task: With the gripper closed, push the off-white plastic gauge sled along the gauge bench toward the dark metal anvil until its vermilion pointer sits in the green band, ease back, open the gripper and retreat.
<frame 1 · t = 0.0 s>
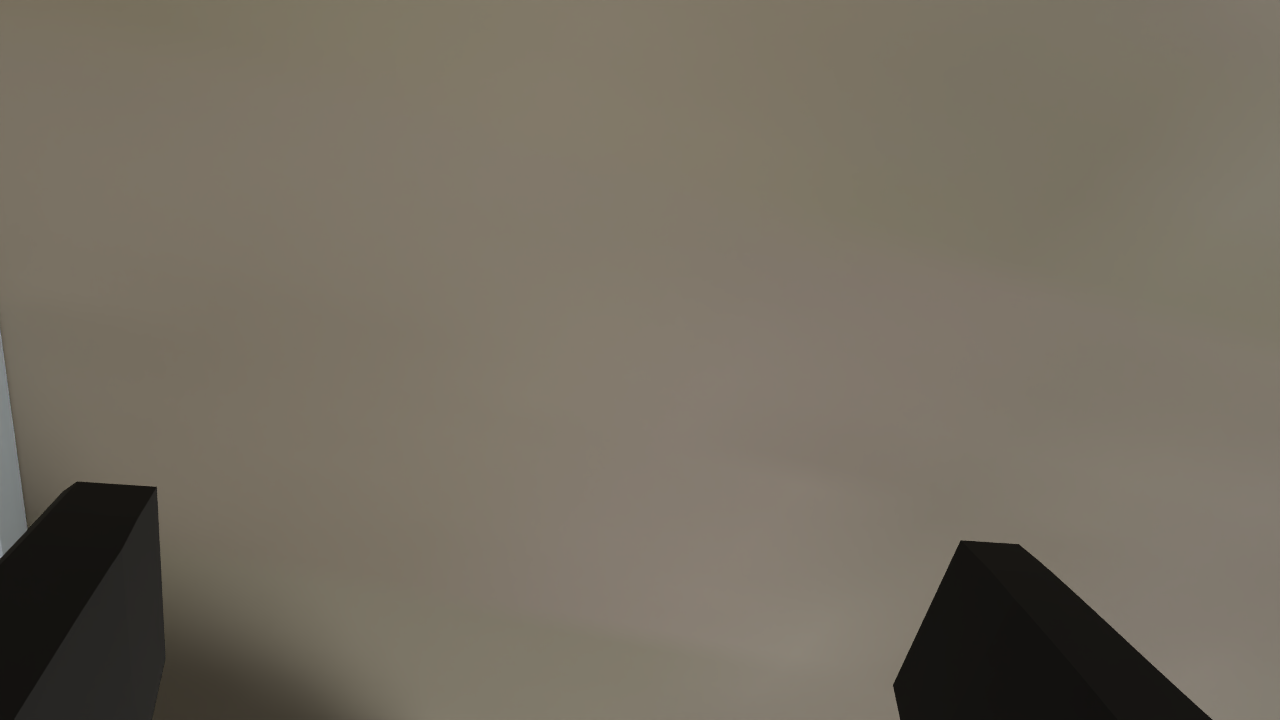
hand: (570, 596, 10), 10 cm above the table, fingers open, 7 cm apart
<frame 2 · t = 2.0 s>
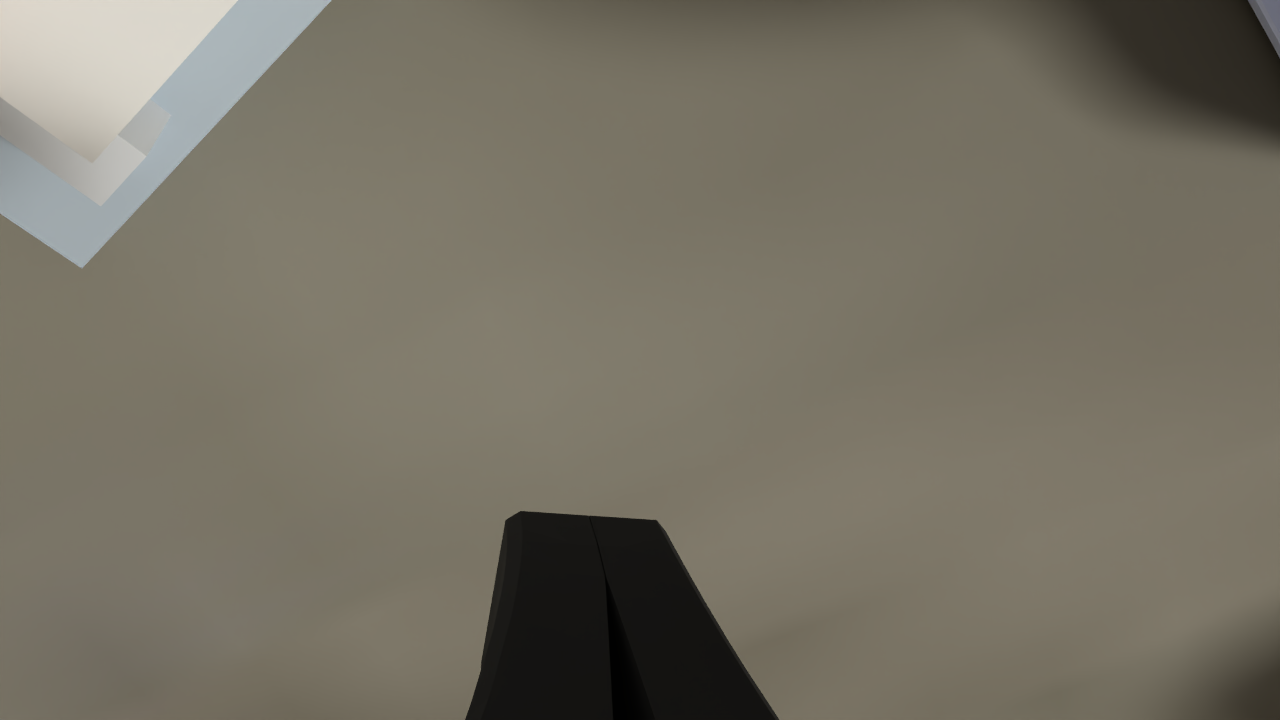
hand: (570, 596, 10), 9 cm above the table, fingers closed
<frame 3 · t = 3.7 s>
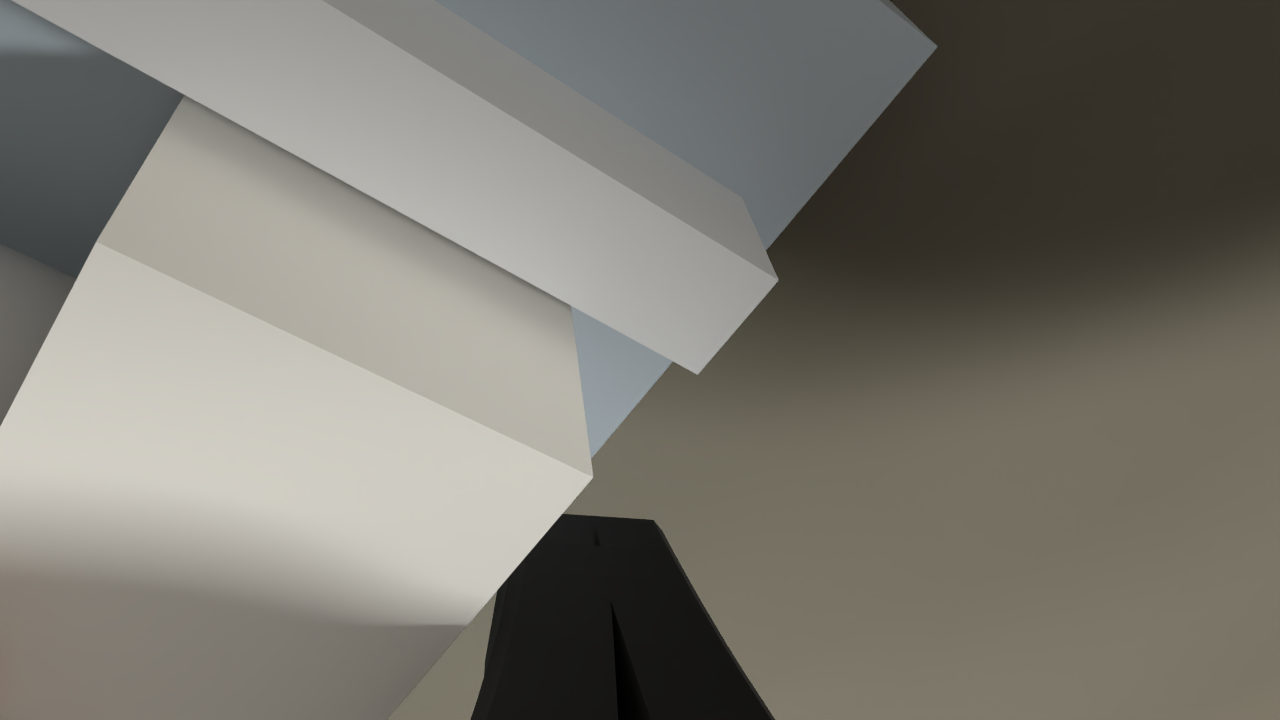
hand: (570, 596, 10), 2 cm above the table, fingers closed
gauge sled: (67, 481, 8), point 3 cm above the table, slide at 0.4 cm, touching gripper
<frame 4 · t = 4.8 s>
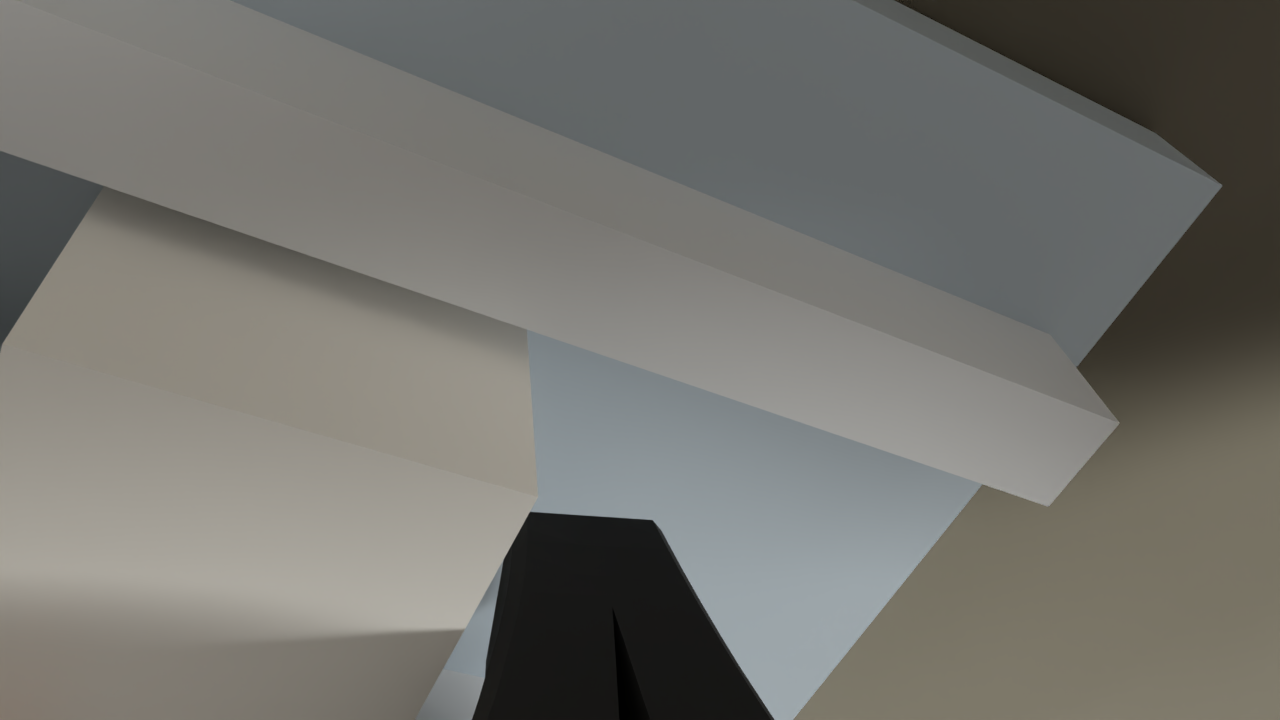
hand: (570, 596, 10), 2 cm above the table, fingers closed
gauge bench: (279, 348, 11), on the table
gauge sled: (56, 563, 8), point 3 cm above the table, slide at 4.4 cm, touching gripper
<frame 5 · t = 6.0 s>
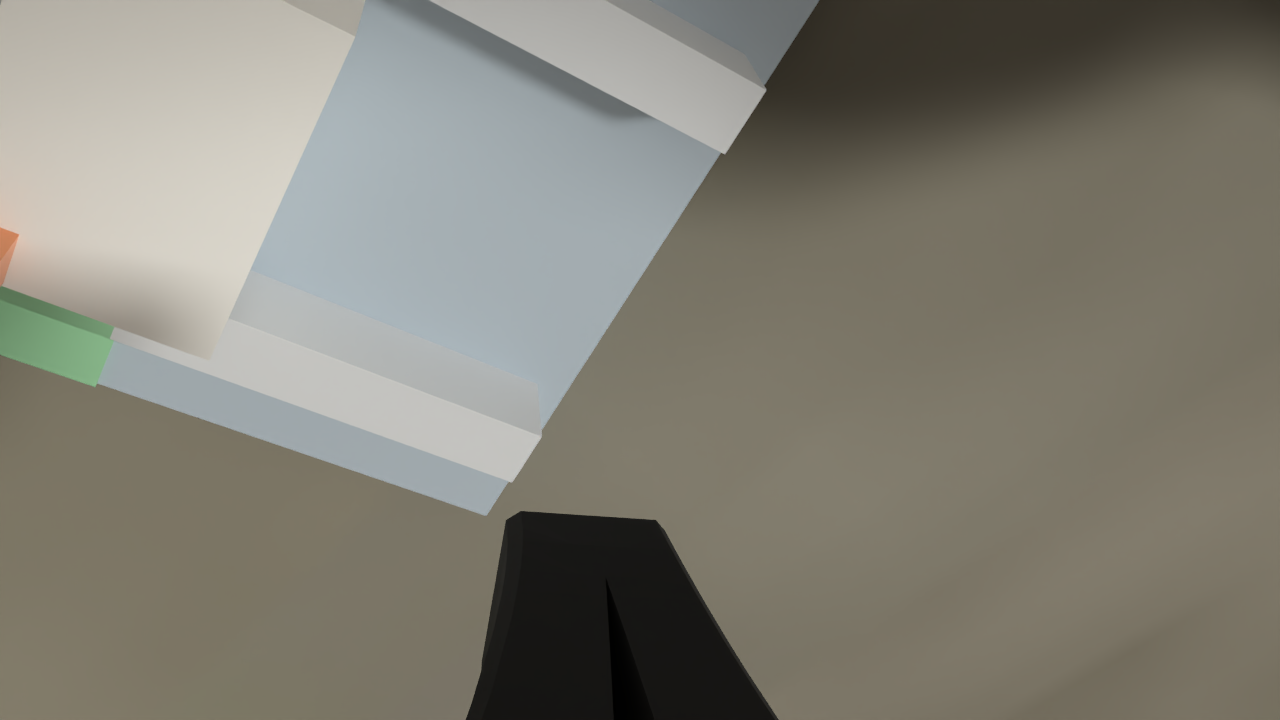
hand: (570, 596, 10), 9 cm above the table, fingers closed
gauge bench: (206, 33, 16), on the table
gauge sled: (48, 83, 12), point 3 cm above the table, slide at 4.4 cm
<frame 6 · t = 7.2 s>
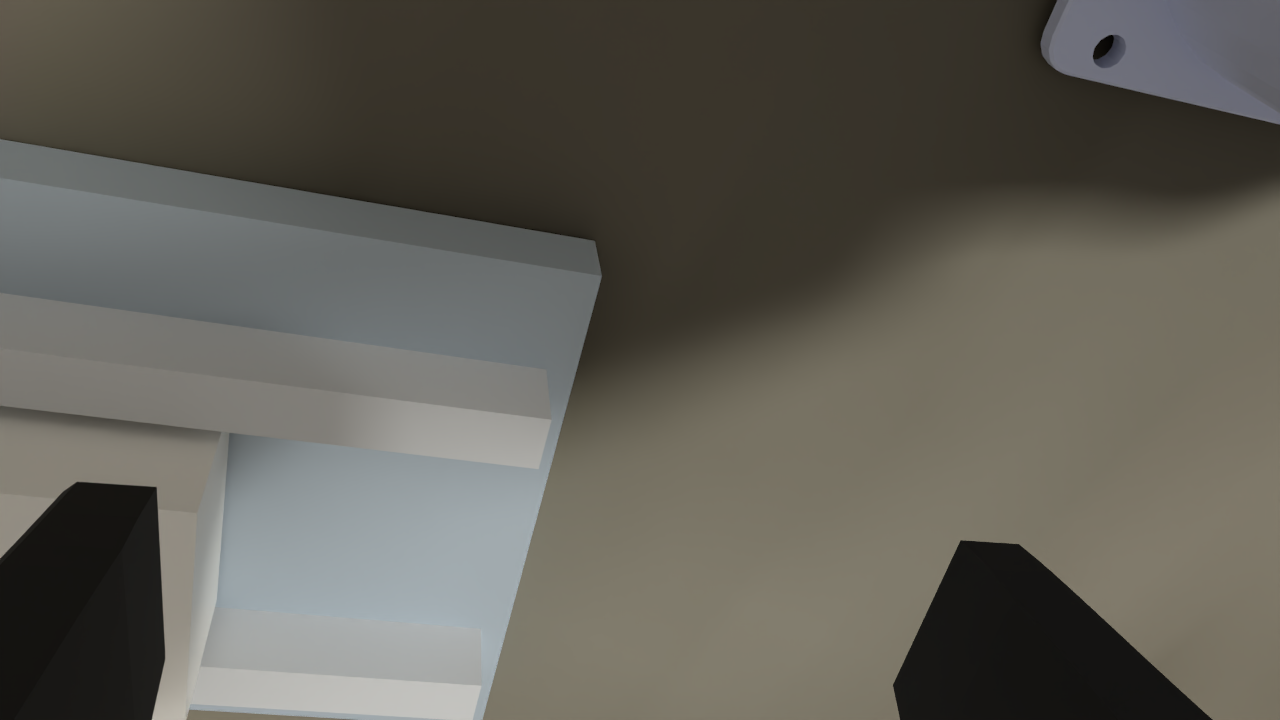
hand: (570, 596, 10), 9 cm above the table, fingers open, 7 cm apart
gauge bench: (142, 446, 20), on the table
gauge sled: (9, 577, 17), point 3 cm above the table, slide at 4.4 cm
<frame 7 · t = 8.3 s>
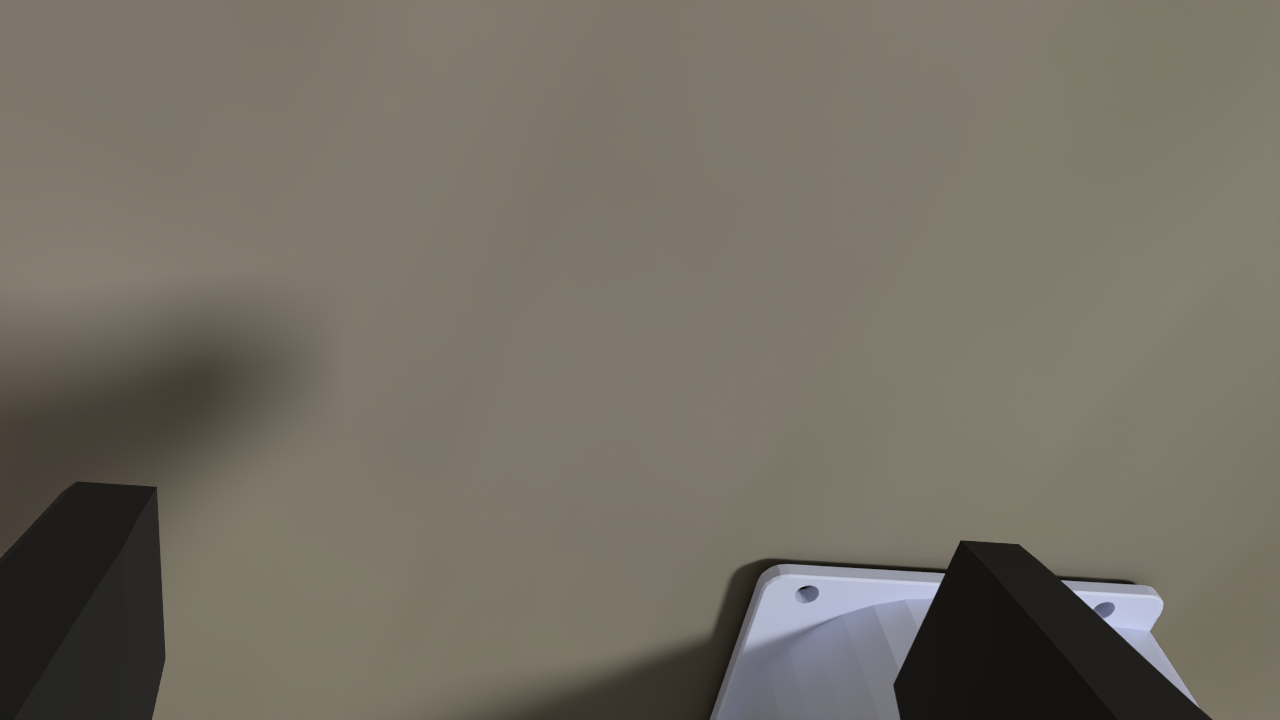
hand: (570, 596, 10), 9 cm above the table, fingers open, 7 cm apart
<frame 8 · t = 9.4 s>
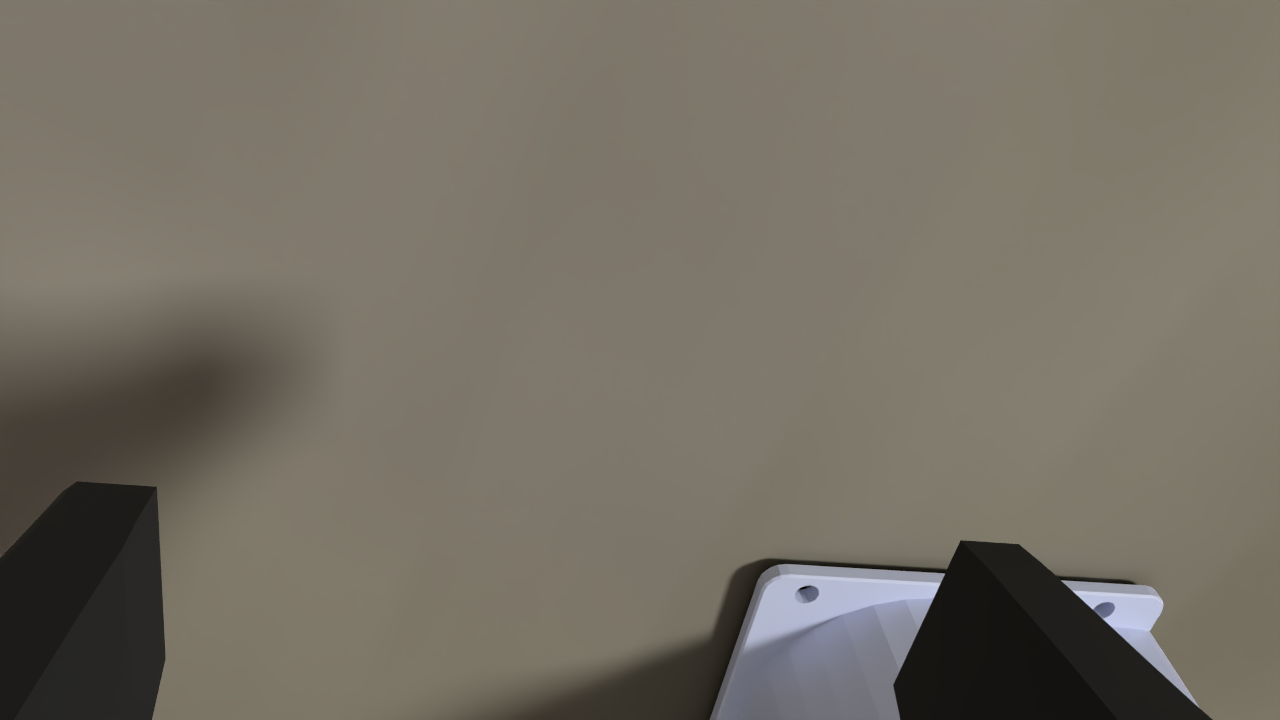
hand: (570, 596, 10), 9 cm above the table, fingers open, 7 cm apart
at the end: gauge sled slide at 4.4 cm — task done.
